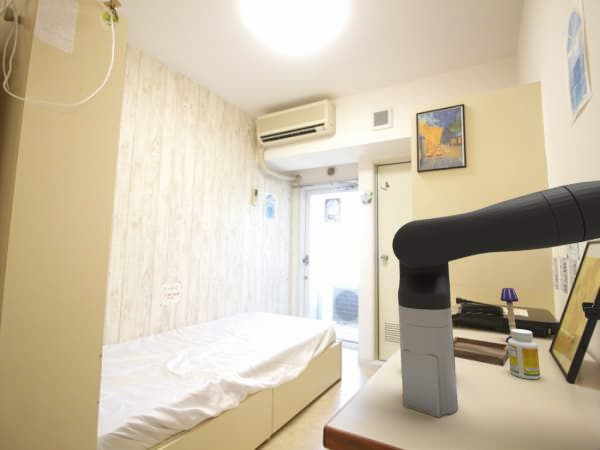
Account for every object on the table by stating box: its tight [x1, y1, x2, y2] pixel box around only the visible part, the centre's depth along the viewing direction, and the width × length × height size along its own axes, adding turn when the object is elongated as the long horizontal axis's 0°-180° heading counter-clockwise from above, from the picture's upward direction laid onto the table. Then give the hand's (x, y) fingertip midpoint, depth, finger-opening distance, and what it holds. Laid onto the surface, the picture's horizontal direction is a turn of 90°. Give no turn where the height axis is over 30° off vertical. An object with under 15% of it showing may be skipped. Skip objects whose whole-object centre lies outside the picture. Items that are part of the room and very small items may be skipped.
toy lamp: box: [500, 287, 519, 344], centre depth 92 cm, size 5×5×17 cm
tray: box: [453, 336, 509, 367], centre depth 81 cm, size 15×14×2 cm
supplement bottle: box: [507, 328, 541, 380], centre depth 66 cm, size 5×5×10 cm
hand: (583, 309), depth 60 cm, fingers open, 8 cm apart
